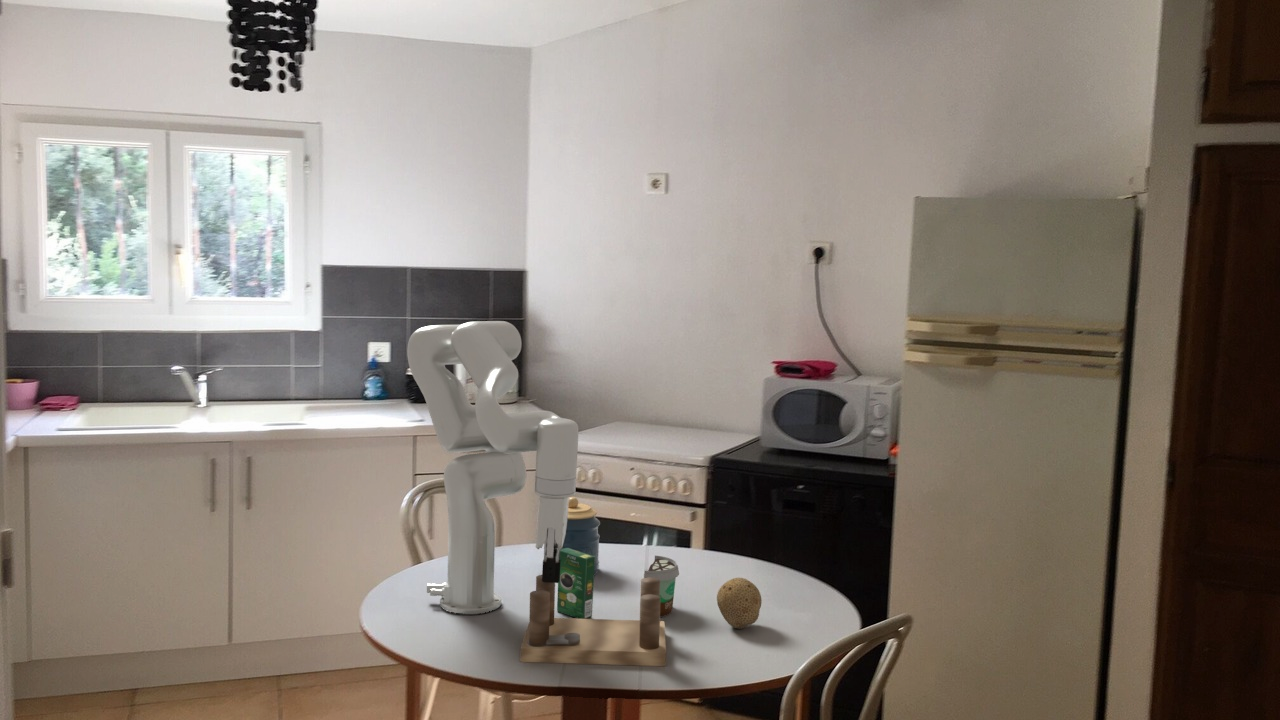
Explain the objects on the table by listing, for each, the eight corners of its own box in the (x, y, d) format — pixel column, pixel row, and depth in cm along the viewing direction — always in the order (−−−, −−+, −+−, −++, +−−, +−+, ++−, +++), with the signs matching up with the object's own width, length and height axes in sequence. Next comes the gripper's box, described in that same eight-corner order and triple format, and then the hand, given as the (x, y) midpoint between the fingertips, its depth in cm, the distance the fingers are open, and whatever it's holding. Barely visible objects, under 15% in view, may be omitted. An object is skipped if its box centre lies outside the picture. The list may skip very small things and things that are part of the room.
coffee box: (594, 618, 202) (595, 554, 201) (584, 621, 200) (586, 557, 199) (566, 608, 207) (567, 546, 206) (556, 611, 205) (557, 549, 204)
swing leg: (579, 638, 183) (580, 590, 183) (580, 645, 180) (581, 596, 179) (529, 638, 183) (530, 590, 182) (528, 645, 179) (529, 596, 178)
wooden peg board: (520, 661, 179) (521, 599, 178) (530, 629, 195) (531, 572, 194) (665, 666, 179) (667, 603, 178) (664, 633, 195) (665, 576, 194)
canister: (575, 560, 242) (576, 488, 240) (610, 573, 232) (612, 498, 231) (531, 570, 233) (533, 495, 231) (566, 584, 223) (568, 506, 222)
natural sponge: (724, 616, 205) (726, 568, 205) (766, 623, 202) (768, 575, 201) (710, 630, 197) (712, 581, 196) (753, 638, 194) (755, 587, 193)
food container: (672, 622, 201) (674, 574, 200) (642, 619, 202) (644, 571, 201) (682, 603, 213) (683, 557, 212) (653, 600, 214) (655, 554, 213)
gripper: (539, 474, 192) (535, 566, 194) (530, 494, 177) (525, 594, 179) (578, 476, 192) (573, 569, 194) (572, 497, 177) (567, 596, 179)
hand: (550, 580), depth 187 cm, fingers closed
